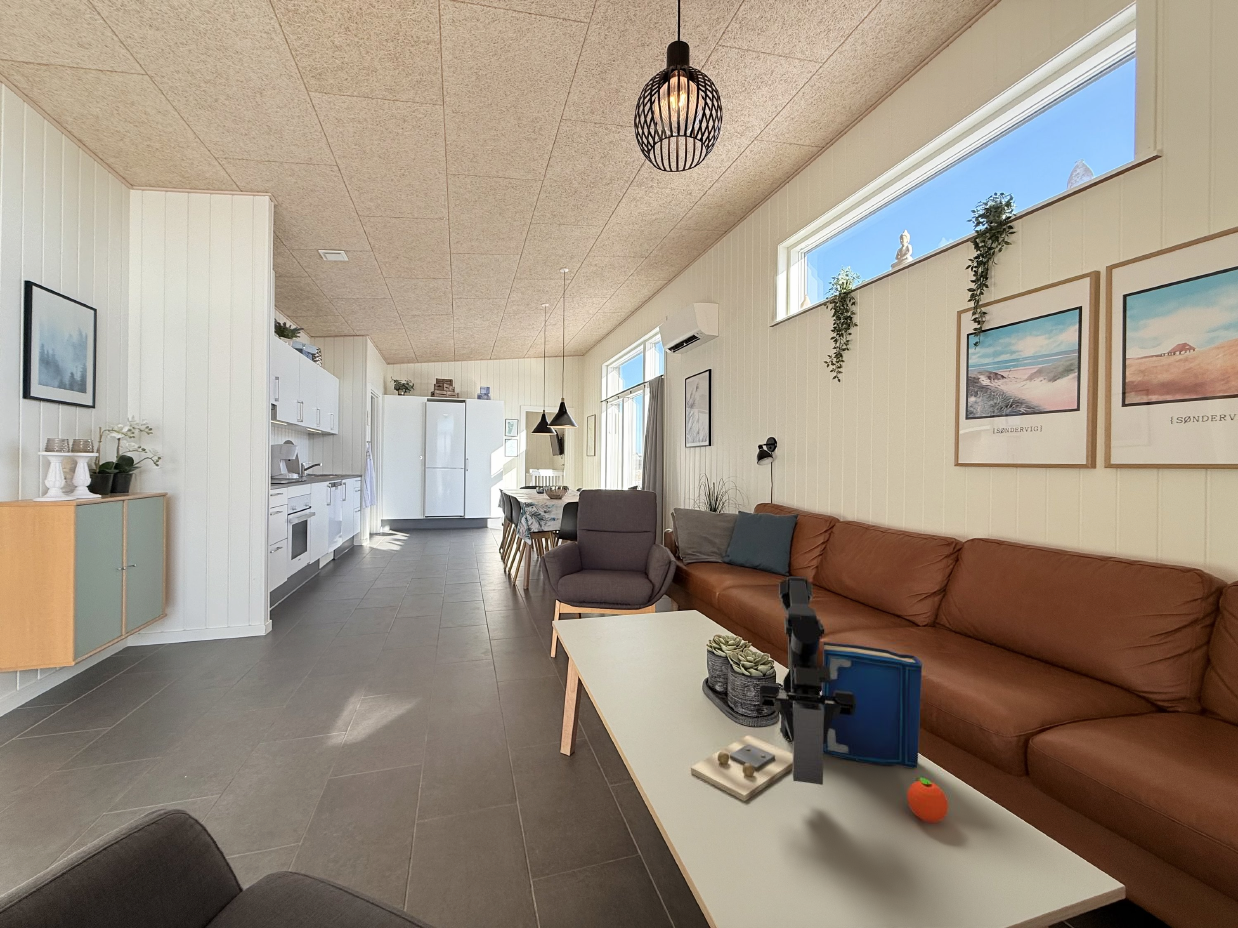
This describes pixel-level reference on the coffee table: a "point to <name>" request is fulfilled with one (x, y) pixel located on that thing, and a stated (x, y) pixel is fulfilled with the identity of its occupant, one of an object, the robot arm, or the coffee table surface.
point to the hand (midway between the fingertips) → (808, 742)
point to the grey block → (808, 742)
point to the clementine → (927, 801)
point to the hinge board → (736, 769)
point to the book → (874, 705)
